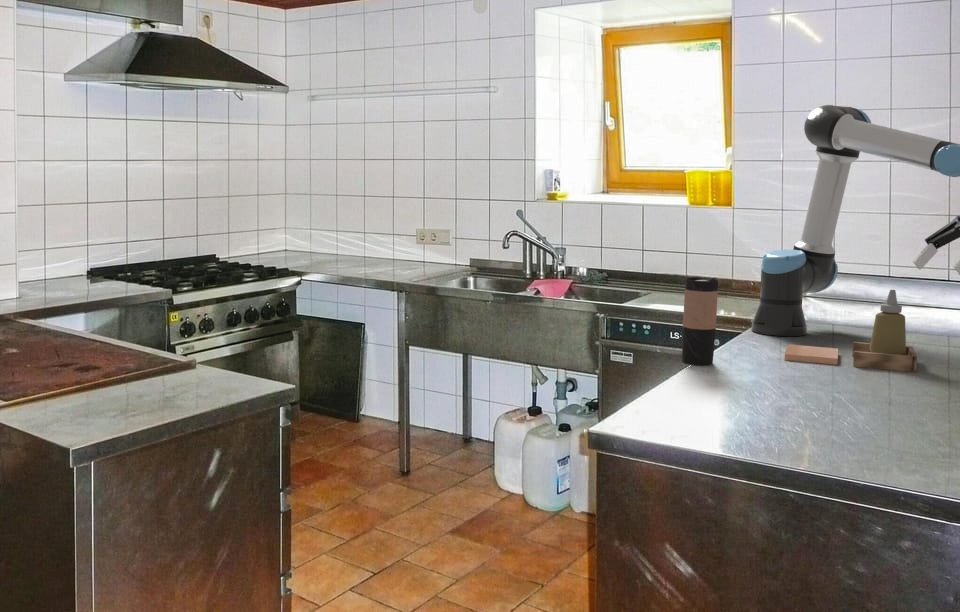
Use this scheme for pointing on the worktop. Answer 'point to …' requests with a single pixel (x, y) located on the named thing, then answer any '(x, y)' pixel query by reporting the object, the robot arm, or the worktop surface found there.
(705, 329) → the travel mug
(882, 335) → the squeeze bottle
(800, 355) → the terracotta tile
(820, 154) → the robot arm
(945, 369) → the worktop surface
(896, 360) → the wooden tray
